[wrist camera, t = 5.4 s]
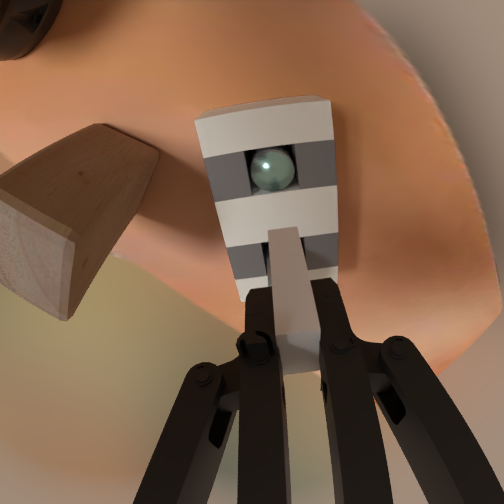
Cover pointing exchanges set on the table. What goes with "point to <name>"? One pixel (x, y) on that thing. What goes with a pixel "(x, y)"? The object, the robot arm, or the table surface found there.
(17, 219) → the wooden block
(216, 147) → the socket board
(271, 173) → the peg
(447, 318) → the table surface
